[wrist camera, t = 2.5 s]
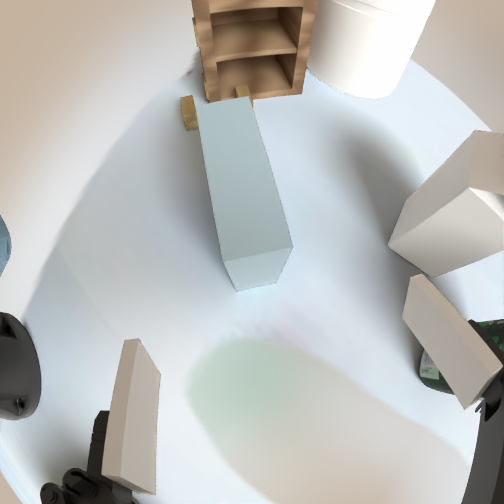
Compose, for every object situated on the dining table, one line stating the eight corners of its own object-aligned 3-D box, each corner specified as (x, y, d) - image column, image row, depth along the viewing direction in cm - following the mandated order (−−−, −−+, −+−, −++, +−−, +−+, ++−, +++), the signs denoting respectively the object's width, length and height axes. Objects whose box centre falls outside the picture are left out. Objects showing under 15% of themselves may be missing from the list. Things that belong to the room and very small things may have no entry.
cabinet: (187, 130, 34) (156, 29, 18) (180, 71, 37) (160, -12, 22) (309, 110, 34) (331, 11, 19) (281, 55, 38) (288, -27, 22)
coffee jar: (478, 335, 26) (592, 320, 8) (462, 395, 24) (575, 412, 6) (427, 316, 27) (559, 290, 9) (407, 384, 25) (536, 414, 7)
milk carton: (385, 247, 29) (501, 158, 11) (405, 200, 31) (498, 102, 13) (431, 279, 28) (557, 225, 10) (446, 230, 30) (551, 159, 12)
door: (236, 291, 28) (222, 262, 16) (215, 185, 31) (195, 105, 19) (276, 283, 29) (293, 246, 16) (250, 178, 32) (248, 96, 19)
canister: (410, 83, 37) (452, -1, 18) (358, 111, 35) (404, -5, 15) (344, 35, 40) (364, -47, 21) (283, 55, 38) (291, -50, 19)
